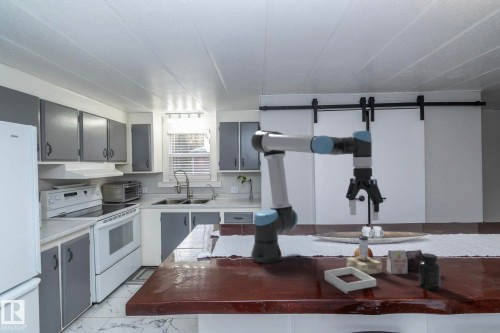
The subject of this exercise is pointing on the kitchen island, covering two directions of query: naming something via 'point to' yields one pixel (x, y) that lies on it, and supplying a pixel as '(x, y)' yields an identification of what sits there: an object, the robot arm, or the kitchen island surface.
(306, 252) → the kitchen island surface
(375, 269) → the pin block
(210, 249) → the kitchen island surface
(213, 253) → the kitchen island surface
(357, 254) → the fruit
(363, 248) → the pin
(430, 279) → the supplement bottle
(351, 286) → the grey square frame
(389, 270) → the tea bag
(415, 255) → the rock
